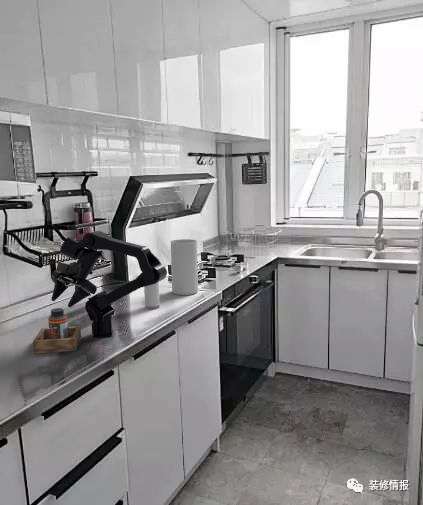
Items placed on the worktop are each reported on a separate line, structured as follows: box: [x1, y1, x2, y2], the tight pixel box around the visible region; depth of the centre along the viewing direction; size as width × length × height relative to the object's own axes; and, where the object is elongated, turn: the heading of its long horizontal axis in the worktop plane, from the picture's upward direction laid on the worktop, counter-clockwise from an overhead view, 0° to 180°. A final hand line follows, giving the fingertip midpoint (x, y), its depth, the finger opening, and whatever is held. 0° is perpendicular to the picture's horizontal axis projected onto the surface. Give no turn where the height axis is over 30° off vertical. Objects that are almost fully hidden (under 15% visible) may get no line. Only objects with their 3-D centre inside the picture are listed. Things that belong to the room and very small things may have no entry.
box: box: [32, 325, 82, 354], centre depth 154 cm, size 13×13×4 cm
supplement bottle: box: [47, 307, 69, 339], centre depth 153 cm, size 6×6×11 cm
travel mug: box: [143, 264, 161, 310], centre depth 197 cm, size 6×7×20 cm
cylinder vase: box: [170, 238, 199, 296], centre depth 221 cm, size 12×12×25 cm
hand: (60, 303), depth 155 cm, fingers open, 9 cm apart
